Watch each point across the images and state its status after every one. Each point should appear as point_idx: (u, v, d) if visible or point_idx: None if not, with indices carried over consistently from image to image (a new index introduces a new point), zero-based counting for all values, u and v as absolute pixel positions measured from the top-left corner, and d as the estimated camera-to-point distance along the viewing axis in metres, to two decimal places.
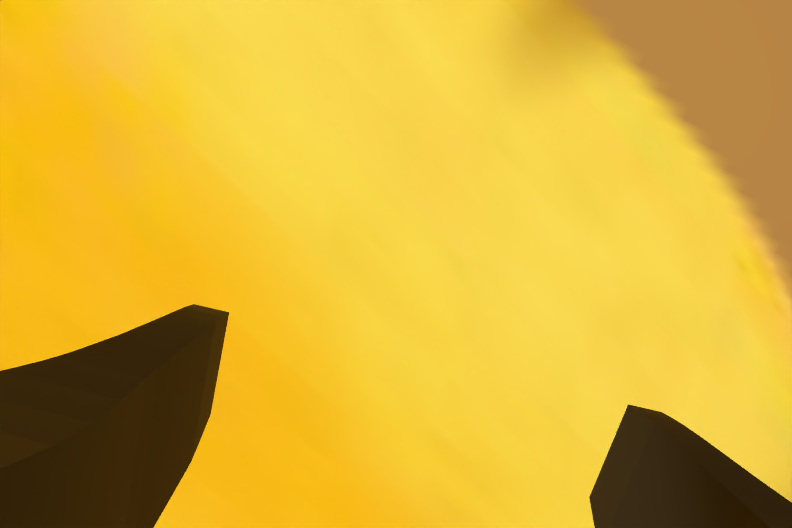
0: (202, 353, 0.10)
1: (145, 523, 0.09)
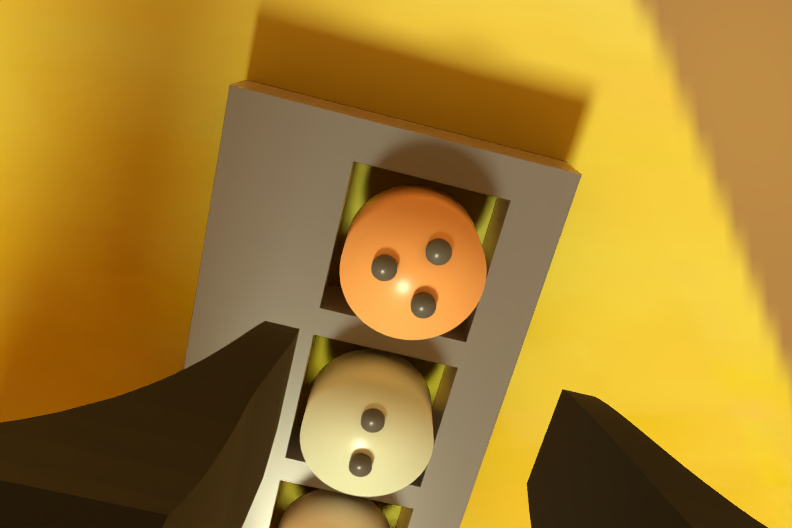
0: (282, 371, 0.10)
1: None
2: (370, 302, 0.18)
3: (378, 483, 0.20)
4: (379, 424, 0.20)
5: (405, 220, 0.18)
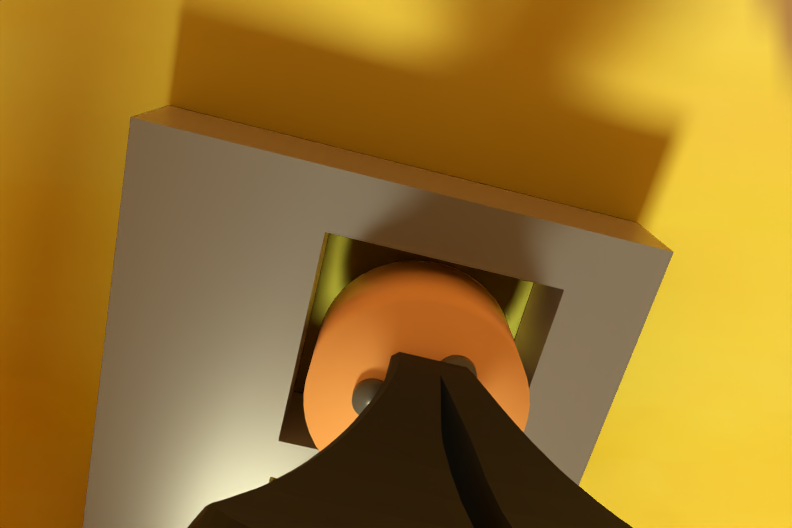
0: None
1: None
2: None
3: None
4: None
5: (404, 328, 0.11)
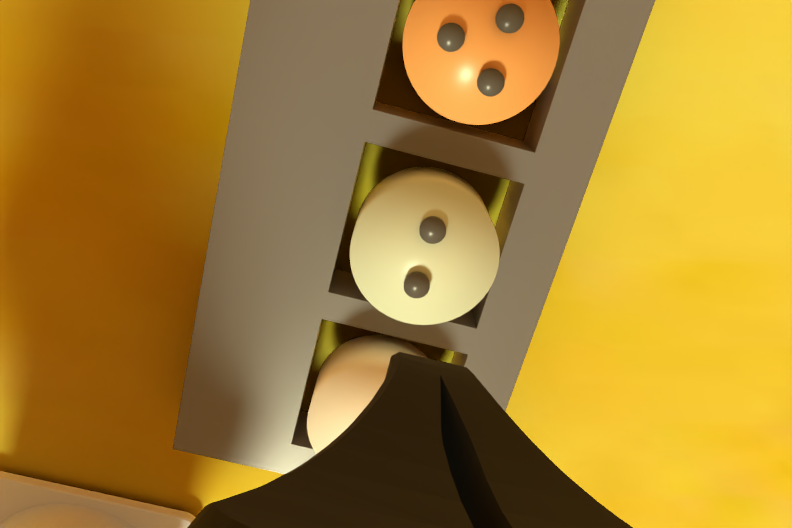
0: None
1: None
2: (434, 79, 0.17)
3: (435, 308, 0.18)
4: (440, 233, 0.17)
5: None
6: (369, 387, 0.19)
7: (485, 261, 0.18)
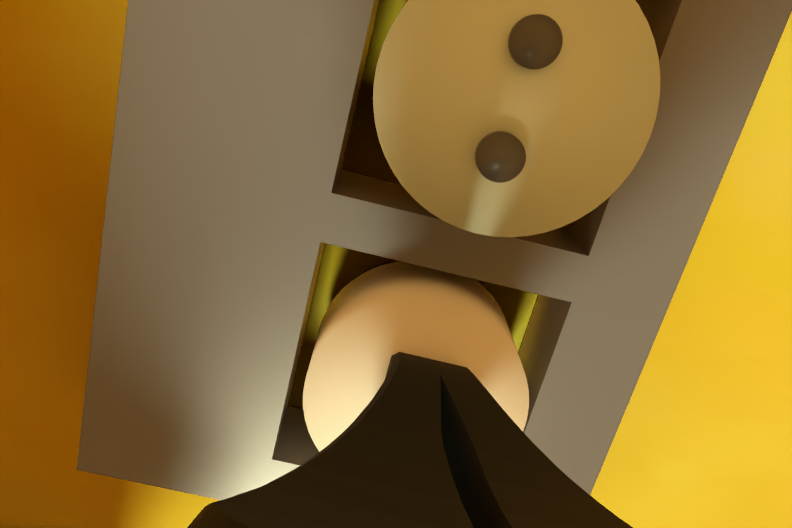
0: None
1: None
2: None
3: (532, 205, 0.10)
4: (551, 46, 0.09)
5: None
6: (408, 335, 0.11)
7: (631, 108, 0.09)
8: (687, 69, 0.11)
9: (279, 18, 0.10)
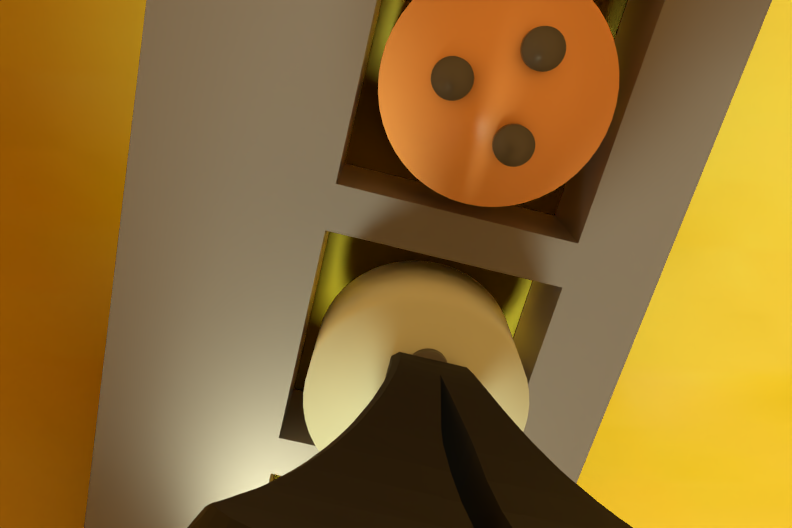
0: None
1: None
2: (427, 141, 0.11)
3: None
4: None
5: None
6: None
7: (507, 411, 0.12)
8: (565, 351, 0.13)
9: (233, 313, 0.13)
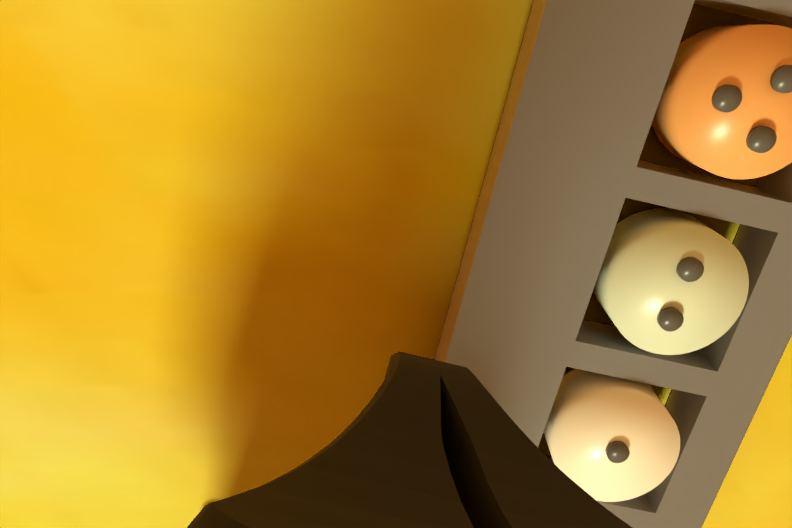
0: None
1: None
2: (704, 138, 0.18)
3: (684, 340, 0.20)
4: (698, 272, 0.19)
5: (754, 45, 0.17)
6: (615, 413, 0.21)
7: (734, 295, 0.19)
8: (776, 276, 0.20)
9: (556, 255, 0.20)
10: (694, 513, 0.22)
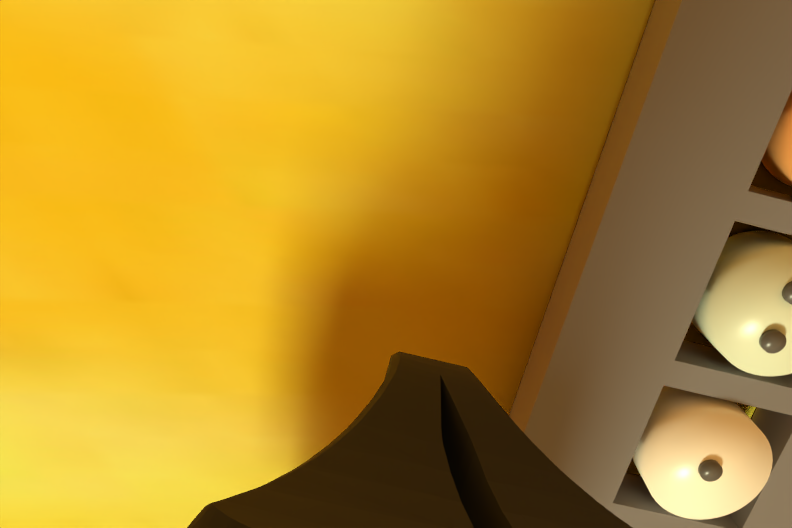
0: None
1: None
2: None
3: (784, 361, 0.20)
4: None
5: None
6: (711, 432, 0.21)
7: None
8: None
9: (662, 275, 0.20)
10: None
